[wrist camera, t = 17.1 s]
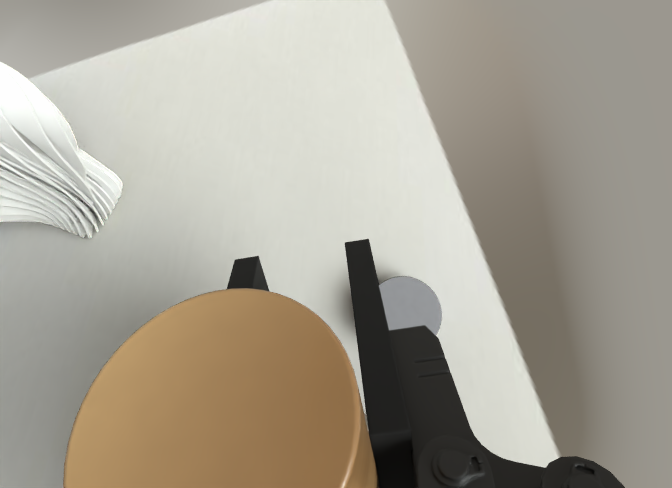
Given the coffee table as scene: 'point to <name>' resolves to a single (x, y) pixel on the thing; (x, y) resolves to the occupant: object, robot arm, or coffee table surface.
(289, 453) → the brush
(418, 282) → the felt pad
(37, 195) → the shell sculpture
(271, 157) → the coffee table surface
